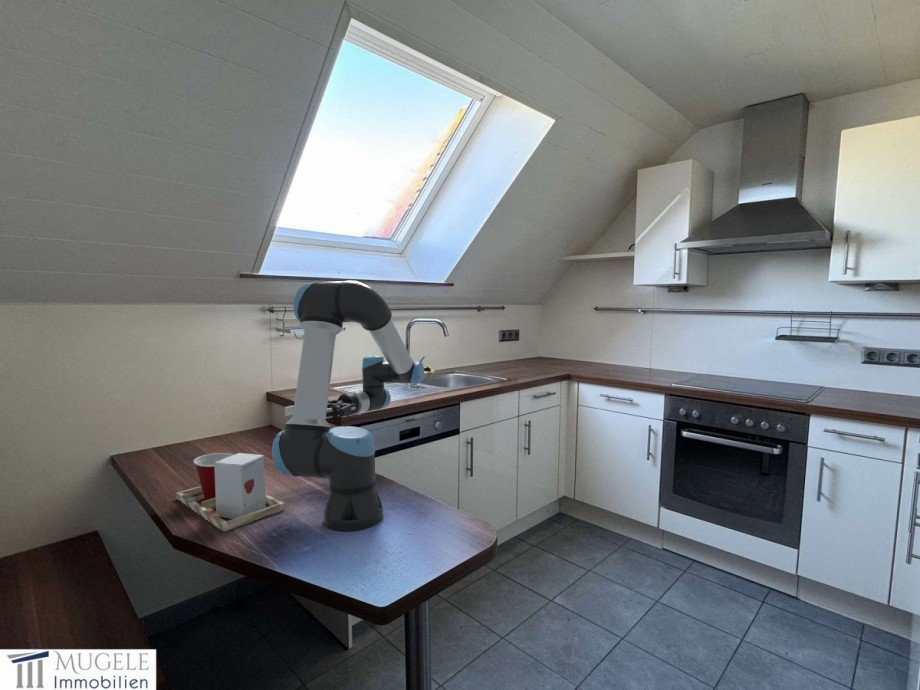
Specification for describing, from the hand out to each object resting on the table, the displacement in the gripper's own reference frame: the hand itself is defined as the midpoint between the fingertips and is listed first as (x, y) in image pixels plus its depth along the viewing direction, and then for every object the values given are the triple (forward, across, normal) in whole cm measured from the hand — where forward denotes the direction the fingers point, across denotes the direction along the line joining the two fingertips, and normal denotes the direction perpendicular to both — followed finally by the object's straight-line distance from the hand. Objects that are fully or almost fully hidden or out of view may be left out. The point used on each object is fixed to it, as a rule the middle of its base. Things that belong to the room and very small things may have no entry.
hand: (299, 413), depth 139 cm
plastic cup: (+17, +17, -24) cm, 34 cm away
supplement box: (+18, +1, -24) cm, 30 cm away
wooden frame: (+18, +9, -24) cm, 31 cm away
